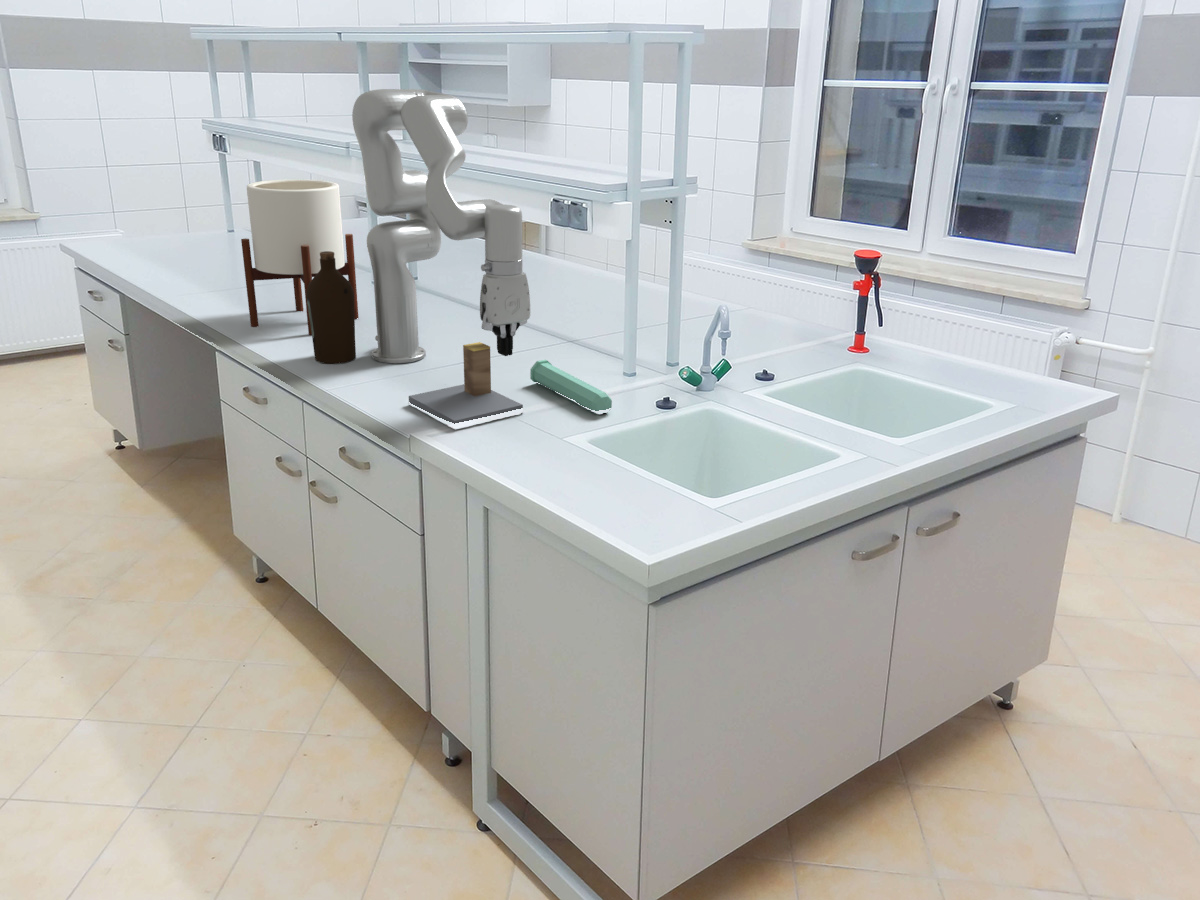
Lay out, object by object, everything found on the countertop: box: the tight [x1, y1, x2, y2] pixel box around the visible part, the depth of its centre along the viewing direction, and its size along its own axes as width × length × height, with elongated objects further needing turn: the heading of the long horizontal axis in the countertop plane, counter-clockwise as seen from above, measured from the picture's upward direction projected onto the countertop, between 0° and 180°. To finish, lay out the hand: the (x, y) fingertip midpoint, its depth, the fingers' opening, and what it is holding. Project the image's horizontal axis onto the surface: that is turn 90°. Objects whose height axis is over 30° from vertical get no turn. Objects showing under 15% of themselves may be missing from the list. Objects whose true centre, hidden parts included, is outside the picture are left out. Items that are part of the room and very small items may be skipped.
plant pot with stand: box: [240, 178, 359, 337], centre depth 253 cm, size 22×22×36 cm
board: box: [408, 384, 524, 424], centre depth 200 cm, size 18×16×2 cm
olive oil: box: [306, 251, 357, 365], centre depth 226 cm, size 11×11×25 cm
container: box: [529, 359, 613, 411], centre depth 207 cm, size 6×6×25 cm
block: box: [462, 341, 492, 396], centre depth 202 cm, size 4×4×10 cm
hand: (505, 354), depth 206 cm, fingers closed
